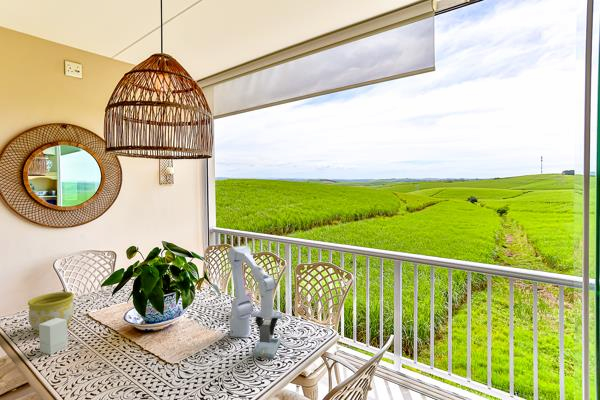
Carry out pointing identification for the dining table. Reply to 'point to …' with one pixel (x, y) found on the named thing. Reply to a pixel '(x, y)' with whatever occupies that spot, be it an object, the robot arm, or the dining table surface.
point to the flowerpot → (50, 308)
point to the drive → (265, 331)
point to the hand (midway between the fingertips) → (266, 333)
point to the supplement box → (53, 335)
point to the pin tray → (266, 348)
